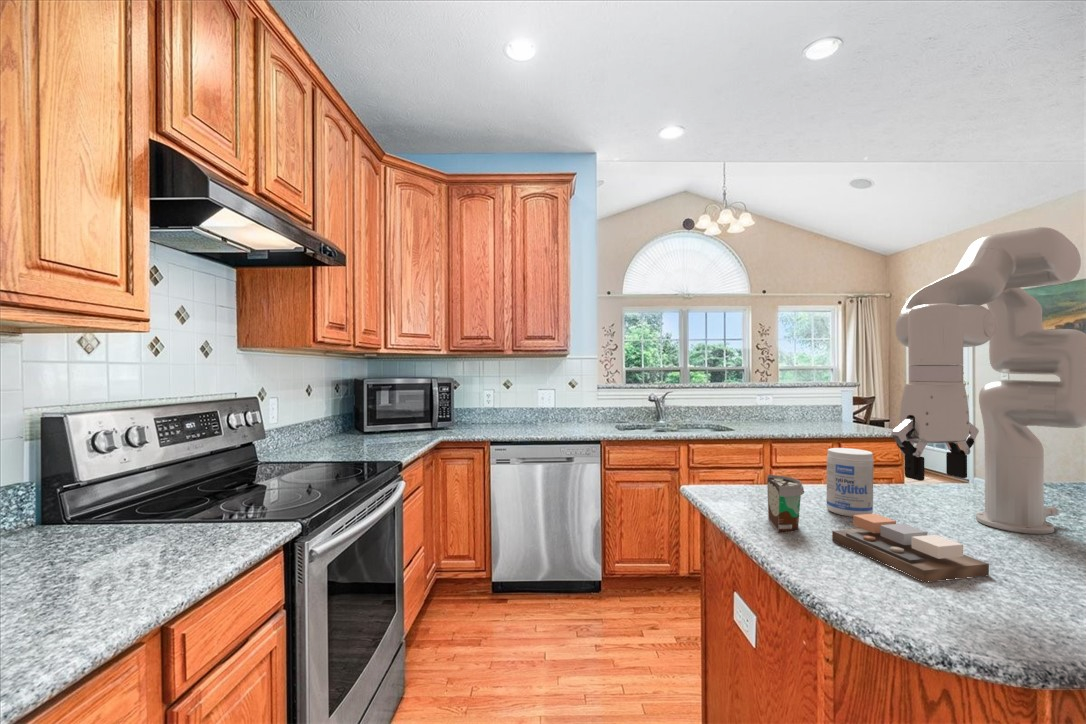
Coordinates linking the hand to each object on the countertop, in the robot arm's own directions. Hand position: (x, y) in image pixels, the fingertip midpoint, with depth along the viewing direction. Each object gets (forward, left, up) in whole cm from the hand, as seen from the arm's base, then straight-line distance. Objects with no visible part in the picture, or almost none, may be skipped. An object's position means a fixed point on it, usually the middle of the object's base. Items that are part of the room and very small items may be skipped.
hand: (935, 477), depth 89 cm
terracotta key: (0, -13, -13) cm, 18 cm away
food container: (+9, -26, -16) cm, 32 cm away
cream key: (0, 0, -13) cm, 13 cm away
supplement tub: (-12, -32, -16) cm, 38 cm away
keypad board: (0, -6, -16) cm, 17 cm away
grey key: (0, -6, -13) cm, 14 cm away
